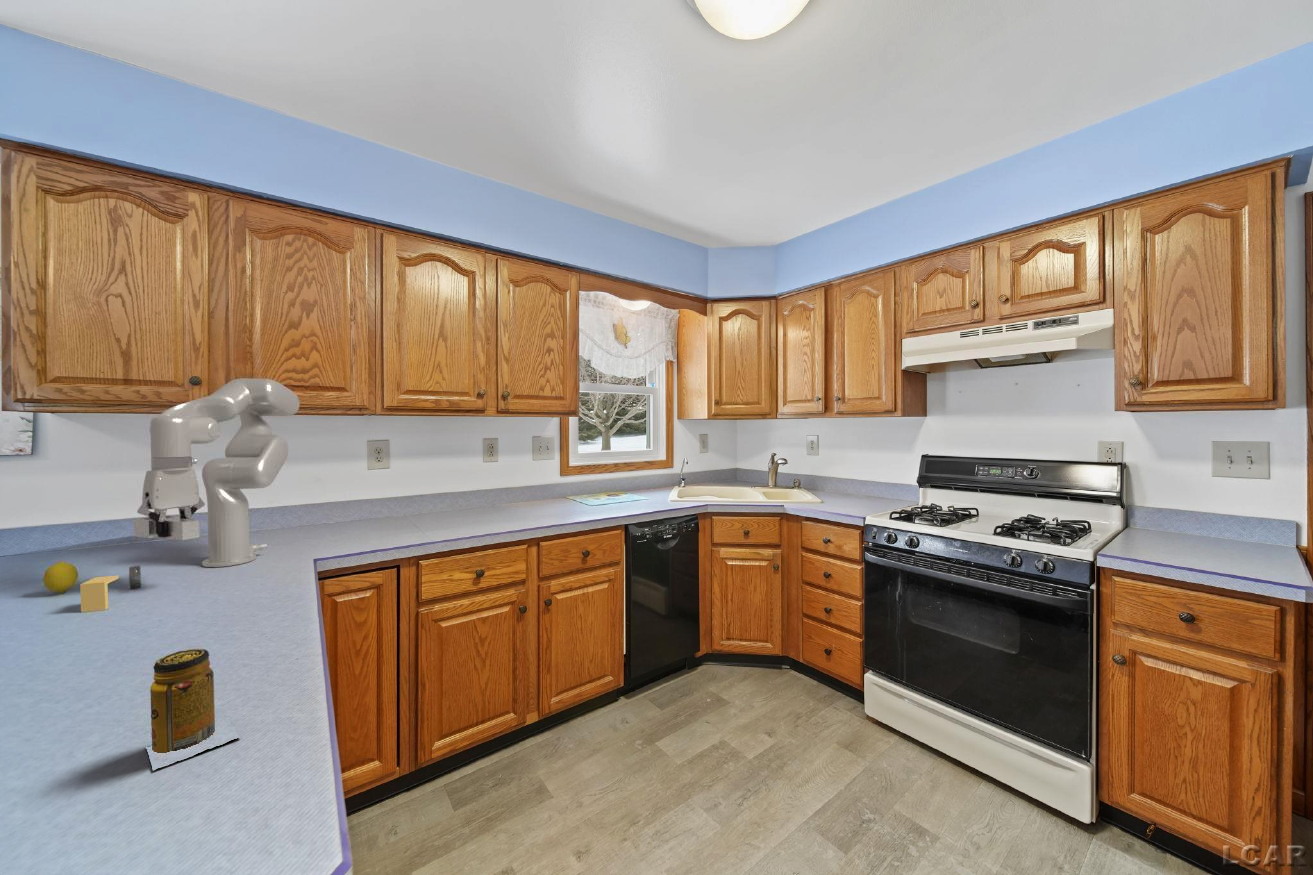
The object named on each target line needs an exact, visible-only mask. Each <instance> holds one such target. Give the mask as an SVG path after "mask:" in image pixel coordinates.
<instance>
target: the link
mask: <svg viewBox="0 0 1313 875" xmlns="http://www.w3.org/2000/svg"><path fill="white" fill-rule="evenodd" d="M165 521H166V522H168V537H165V538H164V539H172V540H178V541H185V540H190V539H196V538H200V520H199V519H192V518H189V519H183V518H180V515H179V516H178V515H171V514H169V515H168V514H166V518H165ZM133 533H134V535H133V536H134V537H138V538H145V539H151V538H159V537H158V535H157V534H156V522H155V521H153V520H152V519H151V518H149V517H148V516H147V517H141V518H134V519H133ZM161 538H163V537H161Z"/></svg>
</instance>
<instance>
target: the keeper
mask: <svg viewBox="0 0 1313 875" xmlns="http://www.w3.org/2000/svg"><path fill="white" fill-rule="evenodd" d="M116 580H119V575H108V576H97V577H96V576H95V577H93V578H91V579H89V580H87V581H85V582H83V583H81V584H79V585H80V586H79V588H80V612H81V613H88V612H98V611H106V610H108V609H109V594H108V593H109V591H108V590H109V589H108V586H109V585H108V584H109V583H112V582H114V581H116Z"/></svg>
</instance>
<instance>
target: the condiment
mask: <svg viewBox="0 0 1313 875" xmlns="http://www.w3.org/2000/svg"><path fill="white" fill-rule="evenodd" d="M209 658H210V652H209V651H208V650H207V649H205V648H192V649H185V650H180V651H176V652H173V653H170V654H167V655H165V656H163V657H161V658H159V659H158V660H156V661H155V663H154V666H152V667H153V672H154V673H153V674H154V675H153V680H154V681H153V682H152V684H151V685H150V690H149V692H150V718H151V720H150V725H151V746H152V750H153V751H154V752H157V753H167V752H170V751H177V750H180V749H186V748H188V747H191V746H193V745H196V744H199V743H200V742H202V741H203V740H206V739H207V738H209V737H210V736H211V735H213V733H214V732H215V723H216V721H215V719H216V717H215V716H216V715H215V708H216V707H215V679H214V670H213V669H212V668H211V667H210V665H211V662H210V659H209Z"/></svg>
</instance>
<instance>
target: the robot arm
mask: <svg viewBox="0 0 1313 875" xmlns="http://www.w3.org/2000/svg"><path fill="white" fill-rule="evenodd" d="M300 405H301V404H300V399H299V398H298V396H297V394H296V393H295V392H294V391H292V390H291V389H290V388H288V387H286V386H285V385H283V384H282V383H280V382H278V381H275V380H274V379H270V378H247V377H246V378H244V377H243V378H236V379H233V380H230V381H229V382H227V383H226V384H224V385H222V386H221V387H220V388H219V389H217V390H215V391H214V392H212V393H211V394H210V395H208V396H204V397H199V398H196V399H194V400H190V401H187V402H183V403H179V404H177V405H175V406H172V407H169V408H168V409H166V410H164V411H163V412H161V413H160V414H159V415H157V416H155V417H153V418H151V420H150V424H149V425H150V426H149V434H150V466H151V467H150V468H151V469H150V470H146V473H145V475H144V481H143V487H142V498H141V505H140V506H139V507H138V508H137V514H139V515H142V516H146V517H147V518H148V517H149V518H151V519H152V520H153V521H155V522H156V534H157V535H158V537H157V538H162V537H163V538H164V539H166V538H165V537H168V522H166V521H165V518H166V515H167V511H168V510H171V509H178V514H179V516H180V518H183V519H192V517H193V515H194V514H195V513H196V512H197V511H198V510H200V509H201V508H203V507H205V506H206V503H205V502H204V501H203V499H202V498H201V497H200V489H199V480H198V477H197V474H196V470H195V468H192V467H193V465H194V464H198V459H197V458H193V457H192V445H202V444H203V445H204V444H210V443H212V442H215V441H216V440H217V439H218V438H219V437H220V435H221V432H222V431H221V425H220V424H219V423H222V422H223V423H224V422H227V421H231V420H233V419H234V418H236V417H238V416H239V418H240V424H241V425H240V427H239V428H238V430H237V431H236V433H235V434H234V436H232V438H231V440H230V441H229V442H228V444H227V445H226V447H225V450H224V455H225V457H217V458H214V459H211V460H209V461H207V462H205V464H203V467H202V469H201V477H202V481H203V485H204V489H205V493H206V494H205V495H206V502H207V534H208V535H207V538H208V540H207V541H208V542H207V543H208V558H206V559H203V560H202V562H201V566H202V567H204V568H205V567H206V568H221V567H230V566H236V565H237V566H238V565H240V564H241V565H242V564H246V563H249V562H253V561H254V560H256V559H257V554H256V552H257V551H262V550H266V549H268V545H267V544H268V543H265V542H262V543H258V544H257V543H255V544H254V543H250V513H249V501H248V499H247V496H246V495H245V493H243V491H242V490H247V489H248V490H249V489H250V490H253V489H265V488H267V487H269V486H271V485H272V483H273V482H274V480H275V479H276V477H277V476H278V474H279V472H280V471H281V469H282V467H283V466H284V464H285V462H286V460H287V458H288V454H289V445H288V442H287V440H286V439H285V438H284V437H283V436H281V435H279V434H273V430H272V427H271V426H270V424H268V422H267V421H266V420H265V419H264V418H263V417H286V416H287V417H289V416H294V415H295V414H296V413H298V411H299V409H300ZM151 510H154V511H151Z"/></svg>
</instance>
